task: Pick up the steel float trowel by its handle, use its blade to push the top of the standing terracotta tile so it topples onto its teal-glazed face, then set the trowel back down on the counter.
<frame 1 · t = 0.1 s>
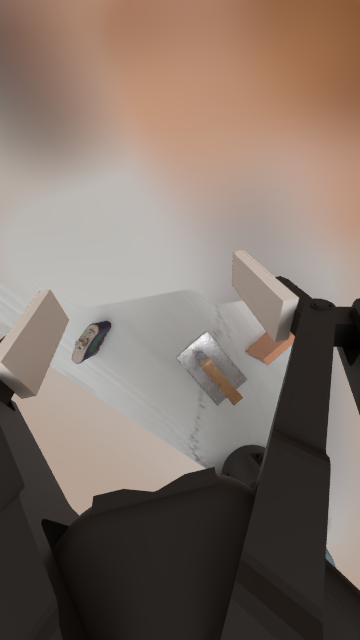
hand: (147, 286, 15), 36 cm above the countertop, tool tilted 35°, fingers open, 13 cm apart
tile: (262, 339, 53), on the countertop
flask: (99, 337, 51), on the countertop
trowel: (211, 367, 52), on the countertop
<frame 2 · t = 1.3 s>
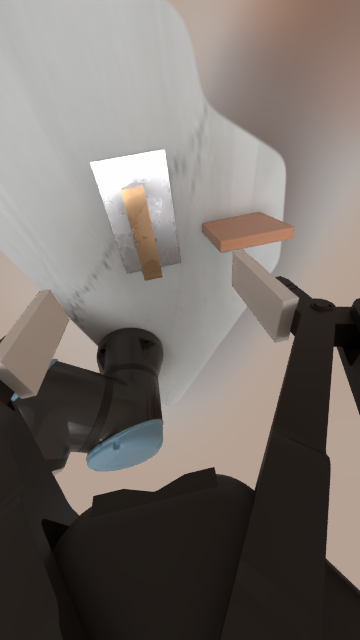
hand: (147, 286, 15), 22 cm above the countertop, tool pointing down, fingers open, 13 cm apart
tile: (230, 222, 35), on the countertop
trowel: (142, 219, 33), on the countertop
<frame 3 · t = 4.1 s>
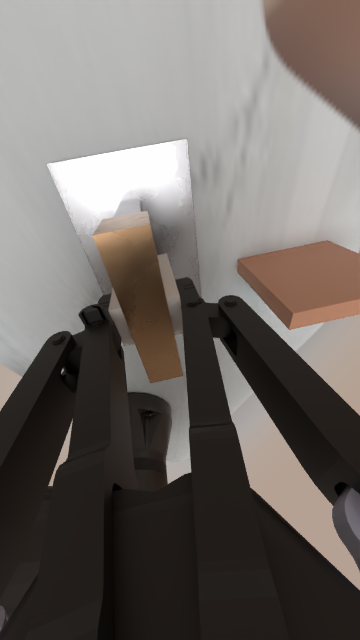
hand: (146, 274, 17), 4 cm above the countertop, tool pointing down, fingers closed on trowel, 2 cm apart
tile: (281, 256, 23), on the countertop
trowel: (145, 256, 20), on the countertop, touching gripper
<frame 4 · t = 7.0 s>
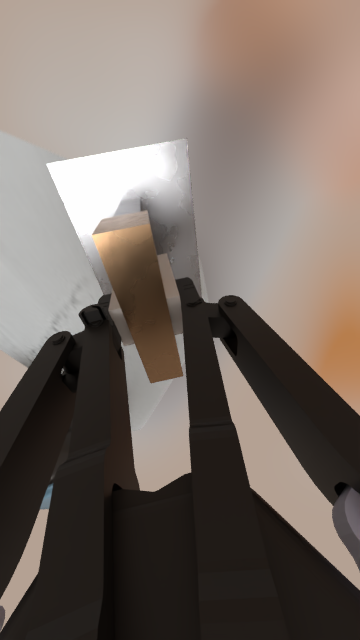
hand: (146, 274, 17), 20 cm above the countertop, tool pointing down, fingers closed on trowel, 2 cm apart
trowel: (145, 256, 20), point 16 cm above the countertop, touching gripper
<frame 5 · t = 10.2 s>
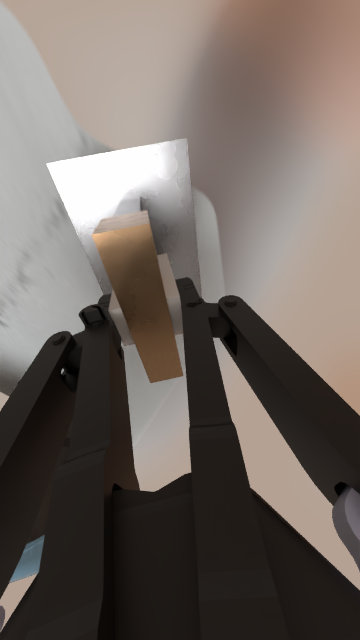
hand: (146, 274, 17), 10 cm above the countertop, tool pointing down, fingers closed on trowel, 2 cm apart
trowel: (145, 256, 20), point 6 cm above the countertop, touching gripper
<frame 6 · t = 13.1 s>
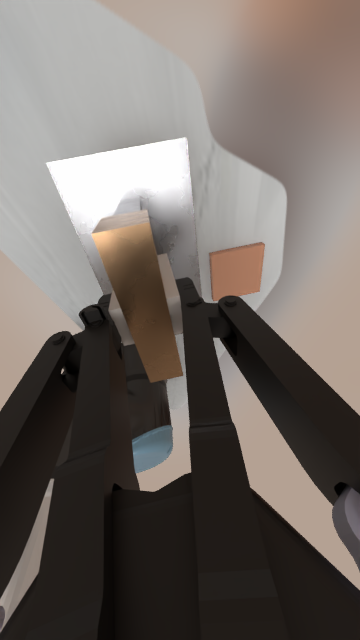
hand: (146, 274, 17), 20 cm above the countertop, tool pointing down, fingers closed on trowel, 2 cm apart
tile: (236, 248, 38), on the countertop, tilted 90°
trowel: (145, 255, 20), point 16 cm above the countertop, touching gripper
when the fingers open (5 cm above the countertop, at t = 16.0 s): trowel drops 2 cm, on the countertop.
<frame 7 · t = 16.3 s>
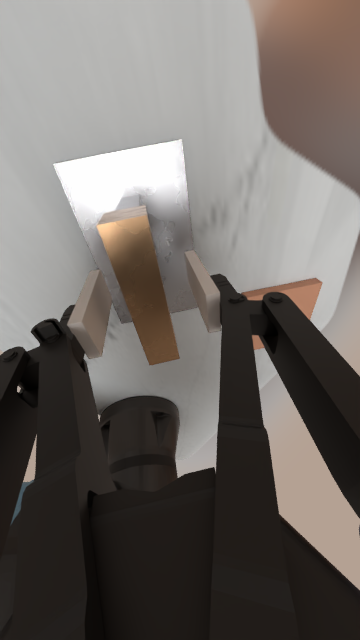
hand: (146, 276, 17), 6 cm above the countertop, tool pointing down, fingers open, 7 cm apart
tile: (280, 287, 26), on the countertop, tilted 90°
trowel: (144, 250, 21), on the countertop
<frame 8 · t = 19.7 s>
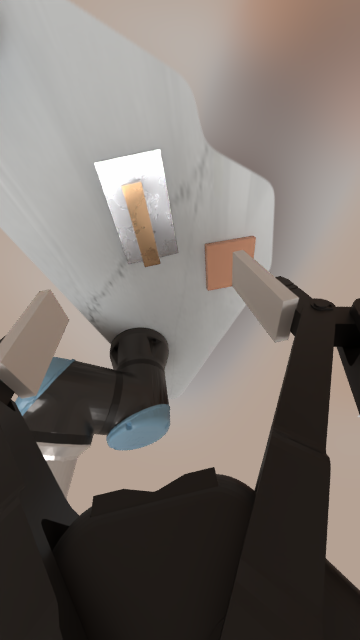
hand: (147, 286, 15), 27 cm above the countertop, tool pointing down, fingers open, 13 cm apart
tile: (229, 240, 41), on the countertop, tilted 90°
trowel: (142, 213, 36), on the countertop
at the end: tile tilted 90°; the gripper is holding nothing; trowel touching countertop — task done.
